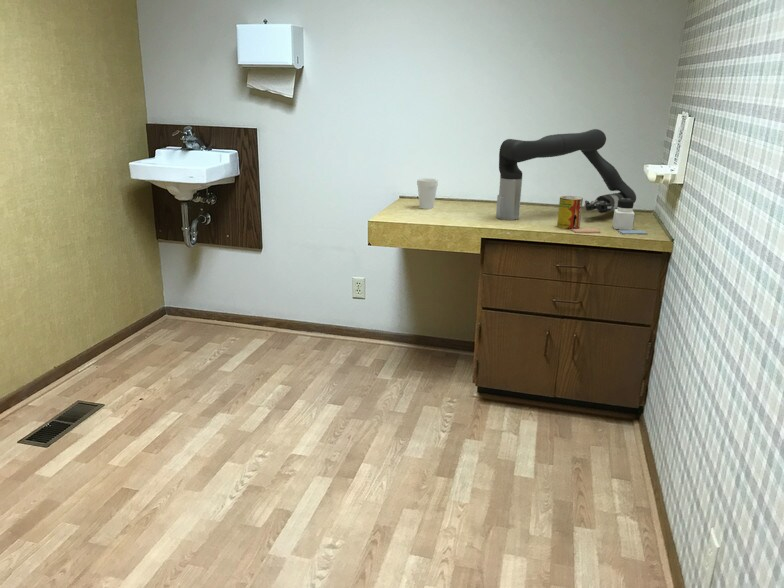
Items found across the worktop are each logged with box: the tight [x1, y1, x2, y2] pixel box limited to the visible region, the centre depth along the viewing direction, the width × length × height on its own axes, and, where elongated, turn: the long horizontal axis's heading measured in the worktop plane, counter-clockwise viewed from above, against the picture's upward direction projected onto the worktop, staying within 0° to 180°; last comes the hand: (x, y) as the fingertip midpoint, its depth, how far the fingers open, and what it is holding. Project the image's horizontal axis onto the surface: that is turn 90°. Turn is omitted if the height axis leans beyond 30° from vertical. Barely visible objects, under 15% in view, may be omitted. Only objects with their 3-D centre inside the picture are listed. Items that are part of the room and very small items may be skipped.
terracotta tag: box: [570, 228, 601, 234], centre depth 254 cm, size 10×5×1 cm, turn 96°
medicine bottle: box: [612, 199, 636, 230], centre depth 260 cm, size 7×7×12 cm
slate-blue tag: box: [617, 229, 649, 235], centre depth 253 cm, size 10×5×1 cm, turn 96°
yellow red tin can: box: [556, 195, 584, 230], centre depth 261 cm, size 9×9×12 cm
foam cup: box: [416, 177, 439, 210], centre depth 295 cm, size 10×9×13 cm
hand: (587, 207), depth 271 cm, fingers closed
